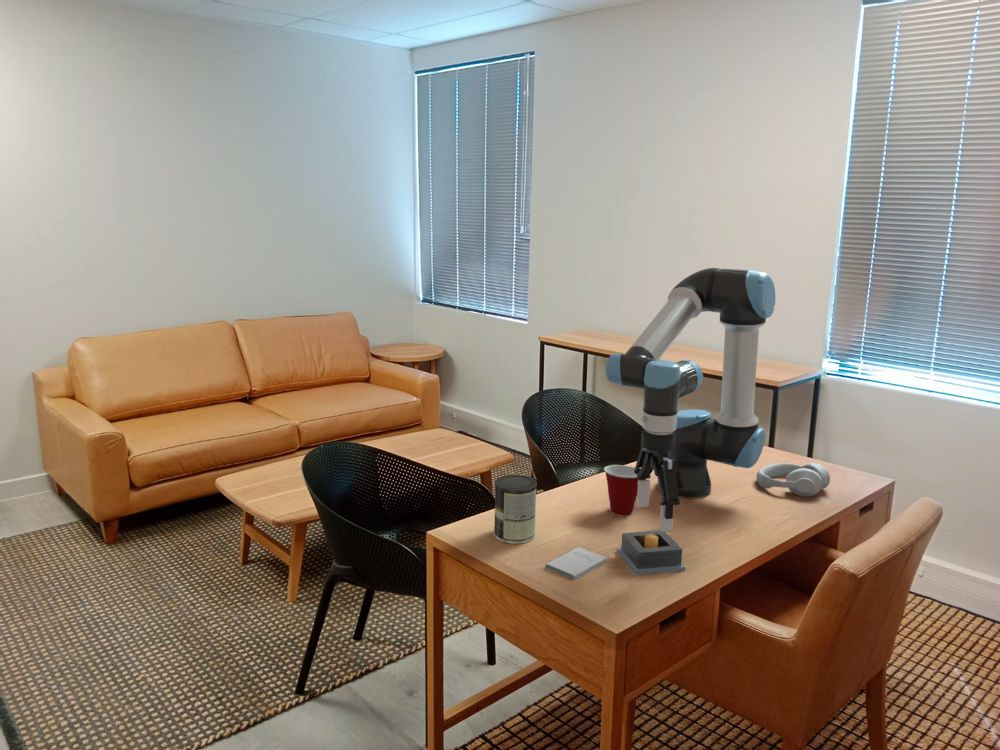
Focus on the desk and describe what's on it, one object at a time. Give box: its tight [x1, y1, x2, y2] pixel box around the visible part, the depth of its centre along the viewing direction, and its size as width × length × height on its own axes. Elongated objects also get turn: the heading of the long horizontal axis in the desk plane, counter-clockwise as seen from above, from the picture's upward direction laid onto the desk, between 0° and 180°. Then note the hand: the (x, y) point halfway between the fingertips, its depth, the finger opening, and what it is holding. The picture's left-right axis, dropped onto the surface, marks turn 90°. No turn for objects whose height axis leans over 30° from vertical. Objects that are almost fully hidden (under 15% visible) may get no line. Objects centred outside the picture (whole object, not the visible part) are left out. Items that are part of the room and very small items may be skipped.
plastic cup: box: [603, 464, 639, 517], centre depth 209 cm, size 11×11×12 cm
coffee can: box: [493, 474, 538, 545], centre depth 192 cm, size 10×10×14 cm
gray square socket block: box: [620, 529, 683, 569], centre depth 181 cm, size 10×10×4 cm
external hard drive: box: [545, 546, 607, 581], centre depth 179 cm, size 2×8×12 cm
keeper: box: [616, 534, 686, 576], centre depth 181 cm, size 12×12×6 cm
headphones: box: [756, 462, 831, 497], centre depth 230 cm, size 18×8×20 cm
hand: (653, 517), depth 180 cm, fingers open, 13 cm apart
